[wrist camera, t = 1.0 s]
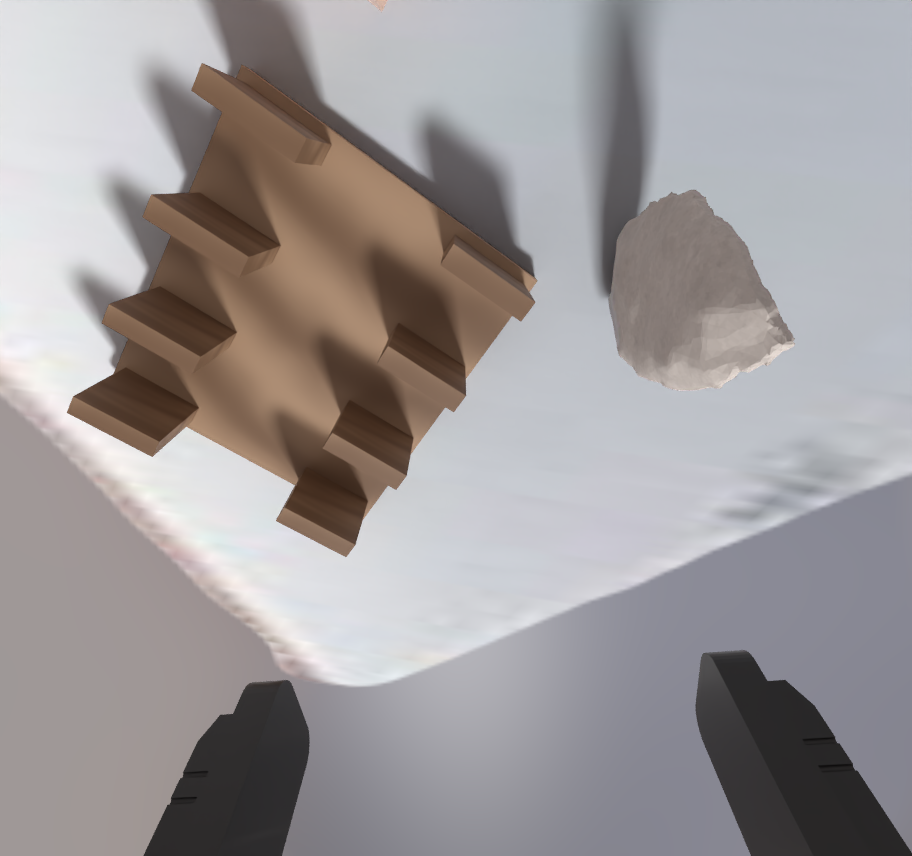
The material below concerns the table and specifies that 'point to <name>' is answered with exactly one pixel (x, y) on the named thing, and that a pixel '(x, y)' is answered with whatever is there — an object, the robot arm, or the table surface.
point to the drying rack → (302, 312)
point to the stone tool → (690, 298)
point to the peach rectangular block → (378, 3)
